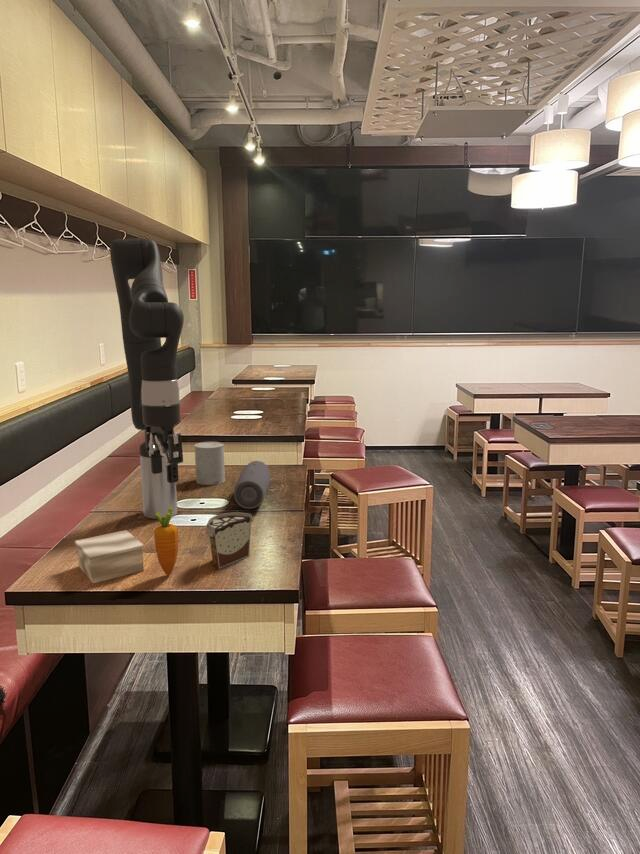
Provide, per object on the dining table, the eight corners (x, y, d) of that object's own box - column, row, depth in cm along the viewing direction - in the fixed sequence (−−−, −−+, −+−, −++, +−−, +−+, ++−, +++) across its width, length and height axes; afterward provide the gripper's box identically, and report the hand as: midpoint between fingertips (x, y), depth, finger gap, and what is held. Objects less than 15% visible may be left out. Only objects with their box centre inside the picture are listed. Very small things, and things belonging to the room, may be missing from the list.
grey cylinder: (223, 484, 205) (221, 447, 202) (193, 485, 205) (191, 448, 202) (226, 476, 214) (225, 441, 212) (198, 477, 214) (197, 441, 212)
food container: (235, 547, 152) (234, 508, 151) (253, 554, 149) (252, 513, 147) (195, 564, 143) (193, 522, 141) (213, 571, 139) (212, 528, 137)
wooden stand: (76, 566, 142) (74, 540, 141) (127, 554, 149) (126, 529, 148) (91, 584, 133) (89, 557, 132) (145, 570, 140) (143, 545, 138)
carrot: (157, 581, 134) (153, 514, 131) (156, 572, 139) (152, 506, 136) (181, 578, 136) (177, 511, 133) (179, 569, 140) (176, 504, 137)
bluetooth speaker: (242, 489, 200) (241, 459, 198) (271, 489, 200) (271, 458, 198) (232, 513, 177) (231, 479, 175) (265, 513, 177) (264, 479, 175)
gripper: (130, 398, 133) (135, 473, 136) (156, 407, 122) (160, 488, 125) (164, 395, 138) (168, 467, 141) (192, 404, 126) (195, 482, 129)
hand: (164, 477), depth 133 cm, fingers open, 8 cm apart
